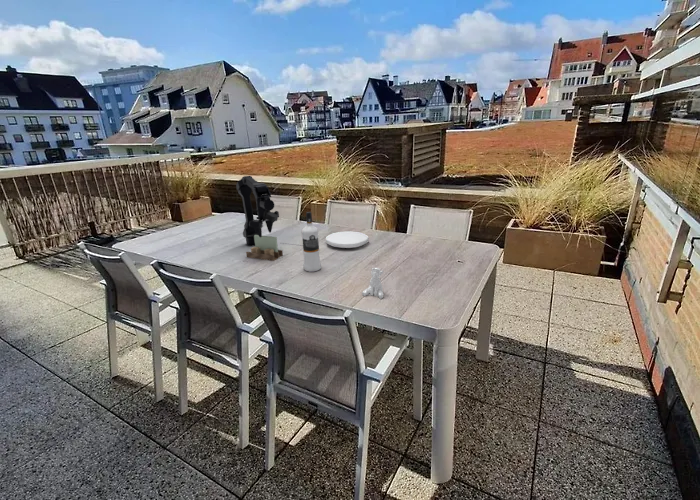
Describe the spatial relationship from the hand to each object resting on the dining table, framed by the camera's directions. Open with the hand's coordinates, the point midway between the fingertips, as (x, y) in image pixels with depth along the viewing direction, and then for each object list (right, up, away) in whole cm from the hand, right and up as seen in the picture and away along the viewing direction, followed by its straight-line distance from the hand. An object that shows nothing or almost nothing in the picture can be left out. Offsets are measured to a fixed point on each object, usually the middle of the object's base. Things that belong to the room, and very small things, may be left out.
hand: (265, 234), depth 195 cm
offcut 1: (-6, -12, +2) cm, 13 cm away
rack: (-1, -13, +2) cm, 13 cm away
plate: (+46, -5, +22) cm, 51 cm away
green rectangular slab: (0, -11, +4) cm, 12 cm away
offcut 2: (+3, -13, -1) cm, 13 cm away
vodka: (+28, -18, -14) cm, 36 cm away
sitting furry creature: (+58, -28, -42) cm, 77 cm away
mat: (+10, -7, +17) cm, 21 cm away
